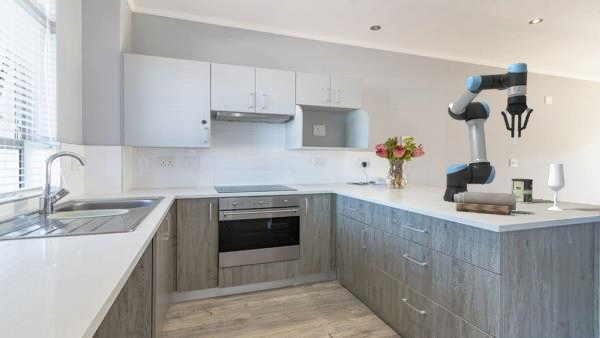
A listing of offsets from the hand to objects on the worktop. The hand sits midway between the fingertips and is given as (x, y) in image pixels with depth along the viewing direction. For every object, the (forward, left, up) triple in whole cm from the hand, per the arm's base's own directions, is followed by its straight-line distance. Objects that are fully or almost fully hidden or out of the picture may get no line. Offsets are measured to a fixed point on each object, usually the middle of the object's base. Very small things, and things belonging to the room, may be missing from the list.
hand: (515, 144), depth 141 cm
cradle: (-11, -9, -34) cm, 37 cm away
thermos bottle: (+1, 0, -29) cm, 29 cm away
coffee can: (-20, +37, -34) cm, 55 cm away
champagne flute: (+3, +27, -34) cm, 44 cm away
